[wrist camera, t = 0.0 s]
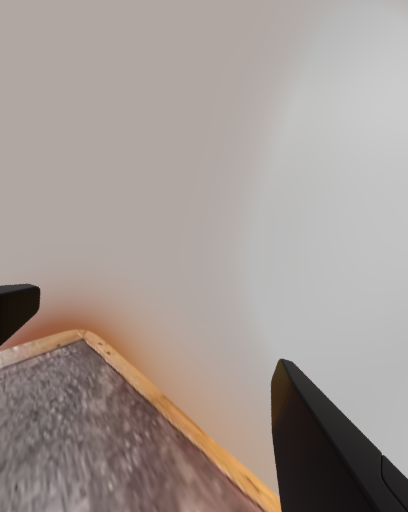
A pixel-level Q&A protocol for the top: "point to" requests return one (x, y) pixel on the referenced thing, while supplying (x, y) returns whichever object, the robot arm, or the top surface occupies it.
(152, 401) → the top surface
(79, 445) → the top surface
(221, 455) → the top surface
